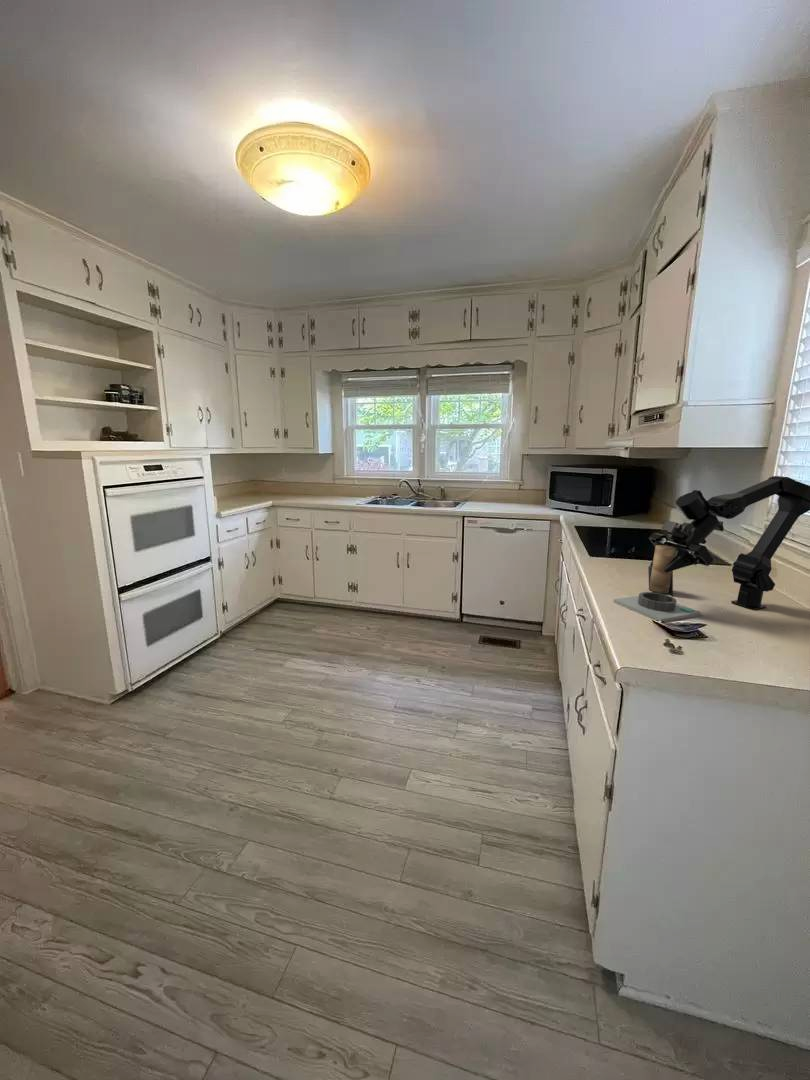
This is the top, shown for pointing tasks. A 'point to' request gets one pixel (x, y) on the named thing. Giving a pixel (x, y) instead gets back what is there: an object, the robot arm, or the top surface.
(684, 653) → the top surface
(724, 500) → the robot arm
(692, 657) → the top surface
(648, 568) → the speaker
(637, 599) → the socket
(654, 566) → the plug
